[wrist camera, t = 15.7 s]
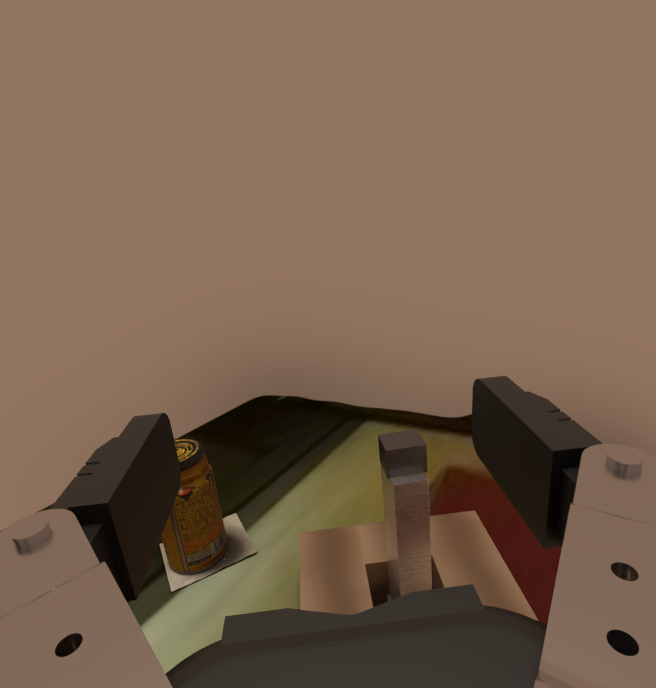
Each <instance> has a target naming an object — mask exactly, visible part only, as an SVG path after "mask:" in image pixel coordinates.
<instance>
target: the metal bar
mask: <svg viewBox="0 0 656 688" xmlns="http://www.w3.org/2000/svg"><path fill="white" fill-rule="evenodd" d="M378 439H379V453H380V462H381V474H382V488H383V502H384V516H385V531H386V545H387V559H388V573H389V587H390V594H389V595H387V602H388V601H391V600H394V599H396V598H399V597H401V596H404V595H406V594H409V593H412V592H416V591H424V590H431V589H432V572H431V542H430V511H429V480H428V478H427V476H426V475H425V472H427V450H426V443H425V442H424V440H423V439H422V437H421V436H420V434H419V433H418V431H417V430H416V429H415V430H409V431H402V432H395V433H389V434H382V435H378Z"/></svg>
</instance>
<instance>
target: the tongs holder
mask: <svg viewBox="0 0 656 688" xmlns="http://www.w3.org/2000/svg"><path fill="white" fill-rule="evenodd" d="M430 542H431V572H432V589H439V588H446V587H454V586H462V585H469V584H473V585H474V587H475V589H476V591H477V594H478V596H479V598H480V600H481V602H482V604H483V605H486V606H493V607H498V608H502V609H507V610H510V611H513V612H516V613H519V614H523V615H525V616H527V617H530V618H532V619H534V620H537V621H538V619H537V618H536V616H535V614H534V612H533V611H532V609H531V607H530V605H529V604H528V602H527V600H526V599H525V597H524V595H523V593H522V592H521V590H520V588H519V586H518V585H517V583H516V581H515V579H514V578H513V576H512V574H511V573H510V571H509V569H508V567H507V566H506V564H505V562H504V560H503V559H502V557H501V555H500V554H499V552H498V550H497V548H496V547H495V545H494V543H493V541H492V540H491V538H490V536H489V534H488V533H487V531H486V529H485V528H484V526H483V524H482V522H481V521H480V519H479V517H478V515H477V514H476V512H475V511H467V512H459V513H451V514H444V515H436V516H430ZM389 594H390V587H389V573H388V559H387V545H386V531H385V522H381V523H373V524H365V525H357V526H349V527H341V528H333V529H325V530H318V531H310V532H302V533H300V610H307V611H317V612H326V613H335V614H345V615H352V614H357V613H360V612H363V611H365V610H368V609H370V608H373V607H376V606H378V605H381V604H383V603H386V602H387V595H389Z"/></svg>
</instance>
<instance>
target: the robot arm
mask: <svg viewBox="0 0 656 688" xmlns="http://www.w3.org/2000/svg"><path fill="white" fill-rule="evenodd" d="M472 405H473V406H472V439H473V444H474V448H475V450H476V453H477V455H478V457H479V458H480V459H481V461H482V462H483V464H484V465H485V466H486V468H487V469H488V471H489V472H490V473H491V475H492V476H493V478H494V479H495V480H496V482H497V483H498V485H499V486H500V487H501V489H502V490H503V492H504V493H505V494H506V496H507V497H508V499H509V500H510V501H511V503H512V504H513V506H514V507H515V509H516V510H517V511H518V513H519V514H520V516H521V517H522V518H523V520H524V521H525V523H526V524H527V525H528V527H529V528H530V530H531V531H532V532H533V534H534V535H535V537H536V538H537V539H538V541H539V542H540V544H541V545H542V546H543V548H544V549H547V548H555V547H562V551H561V556H560V562H559V567H558V572H557V577H556V583H555V588H554V593H553V598H552V604H551V609H550V614H549V619H548V625H547V626H546V625H545V624H543V623H541V622H539V621H537V620H534V619H532V618H530V617H527V616H525V615H523V614H519V613H516V612H513V611H510V610H507V609H502V608H498V607H493V606H486V605H483V604H482V602H481V600H480V598H479V596H478V594H477V591H476V589H475V587H474V585H473V584H469V585H462V586H454V587H446V588H439V589H431V590H424V591H416V592H412V593H409V594H406V595H404V596H401V597H399V598H396V599H394V600H391V601H388V602H386V603H383V604H381V605H378V606H376V607H373V608H370V609H368V610H365V611H363V612H360V613H357V614H352V615H345V614H335V613H326V612H317V611H307V610H298V609H288V608H286V609H279V610H271V611H264V612H256V613H248V614H241V615H233V616H225V622H224V628H223V634H222V640H220V641H217V642H215V643H213V644H211V645H209V646H207V647H205V648H203V649H201V650H199V651H197V652H195V653H194V654H192V655H191V656H189V657H188V658H186V659H184V660H183V661H182V662H180V663H179V664H178V665H176V666H175V667H174V668H172V669H171V670H170V671H169V672H167V673H166V674H165V673H164V671H163V669H162V667H161V665H160V663H159V661H158V659H157V658H156V656H155V654H154V652H153V650H152V648H151V646H150V645H149V643H148V641H147V639H146V637H145V635H144V633H143V631H142V630H141V628H140V626H139V624H138V622H137V620H136V618H135V617H134V615H133V613H132V611H131V609H130V607H129V605H128V603H127V602H126V601H131V600H137V597H138V595H139V592H140V590H141V587H142V584H143V582H144V579H145V577H146V574H147V572H148V569H149V566H150V564H151V561H152V559H153V556H154V554H155V551H156V548H157V546H158V543H159V541H160V538H161V536H162V533H163V531H164V528H165V525H166V523H167V520H168V518H169V515H170V513H171V510H172V507H173V505H174V502H175V500H176V497H177V495H178V492H179V489H180V483H181V470H180V464H179V459H178V455H177V451H176V446H175V442H174V437H173V433H172V429H171V424H170V421H169V418H168V416H167V415H166V414H165V413H160V414H151V415H142V416H134V417H133V418H132V420H131V421H130V422H129V424H128V425H127V426H126V428H125V429H124V430H123V432H122V433H121V434H120V436H119V437H116V438H113V439H111V440H109V441H108V442H107V443H105V444H104V445H102V446H101V447H100V448H98V449H97V450H96V451H95V452H94V453H93V454H92V456H91V457H90V458H89V460H88V461H87V462H86V466H83V467H82V469H81V470H80V471H79V472H78V474H77V477H75V478H74V479H73V480H72V482H71V483H70V484H69V485H68V487H67V488H66V489H65V491H64V492H63V493H62V494H61V496H60V497H59V498H58V500H57V501H56V502H55V503H54V505H53V506H52V507H51V508H50V510H45V511H41V512H38V513H35V514H32V515H30V516H27V517H25V518H23V519H21V520H19V521H17V522H15V523H13V524H12V525H10V526H9V527H7V528H6V529H4V530H3V531H2V532H1V533H0V688H656V457H654V456H653V455H651V454H649V453H647V452H644V451H642V450H639V449H636V448H633V447H629V446H624V445H618V444H602V443H601V442H600V441H599V440H597V439H596V438H595V437H594V436H592V435H591V434H590V433H589V432H587V431H586V430H585V429H584V428H582V427H581V426H580V425H579V424H577V423H576V422H575V421H573V420H572V421H571V418H570V417H569V416H567V415H566V414H565V413H564V412H560V409H559V408H557V407H556V406H555V405H554V404H552V403H551V402H550V401H549V400H547V399H545V398H543V397H540V396H538V395H536V394H533V393H531V392H524V391H523V390H522V389H521V388H520V387H519V386H517V385H516V384H515V383H514V382H513V381H511V380H510V379H509V378H508V377H506V376H499V377H491V378H481V379H476V380H475V382H474V385H473V403H472Z"/></svg>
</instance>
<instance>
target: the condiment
mask: <svg viewBox="0 0 656 688" xmlns="http://www.w3.org/2000/svg"><path fill="white" fill-rule="evenodd" d="M174 442H175V446H176V451H177V455H178V459H179V464H180V470H181V483H180V489H179V492H178V495H177V497H176V500H175V502H174V505H173V507H172V510H171V513H170V515H169V518H168V520H167V523H166V525H165V528H164V531H163V533H162V536H161V537H162V542H163V543H162V544H160V548H161V552H162V556H163V560H164V564H165V568H166V572H167V576H168V580H169V584H170V588H171V592H173V591H175V590H177V589H179V588H182V587H184V586H186V585H189V584H191V583H193V582H195V581H197V580H200V579H202V578H204V577H206V576H208V575H211V574H212V573H214V572H216V571H219V570H220V569H221V568H223V567H225V566H228V565H231V564H233V563H235V562H238V561H240V560H242V559H243V558H245V557H247V556H248V555H251V554H253V553H255V552H257V550H256V548H255V547H254V545H253V543H252V542H251V540H250V538H249V536H248V535H247V533H246V531H245V530H244V527H243V525H242V523H241V522H240V520H239V518H238V516H237V514H236V513H235V514H233V515H230V516H227V517H225V518H223V517H222V512H221V507H220V502H219V498H218V493H217V488H216V483H215V478H214V473H213V470H212V467H211V466H210V465H209V464H208V463H207V458H206V456H205V450H204V447H203V445H202V444H201V443H200V442H199V441H197V440H192V439H180V440H175V441H174ZM224 559H225V560H224Z"/></svg>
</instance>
